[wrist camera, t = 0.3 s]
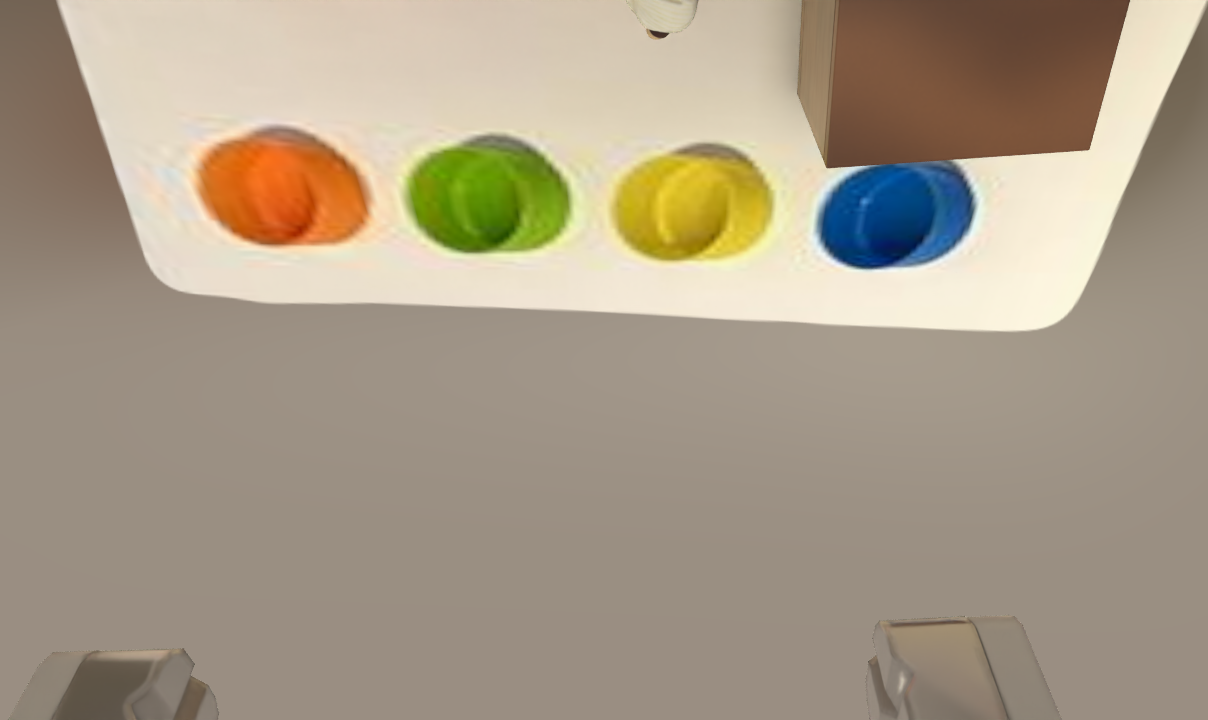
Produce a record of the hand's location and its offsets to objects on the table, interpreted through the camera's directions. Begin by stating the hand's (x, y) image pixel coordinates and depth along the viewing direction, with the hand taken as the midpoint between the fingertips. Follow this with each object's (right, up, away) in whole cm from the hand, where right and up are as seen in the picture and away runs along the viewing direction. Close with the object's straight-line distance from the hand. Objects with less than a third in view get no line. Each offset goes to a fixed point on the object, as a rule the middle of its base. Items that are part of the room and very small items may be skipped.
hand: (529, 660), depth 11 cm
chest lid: (+18, +21, +31) cm, 42 cm away
